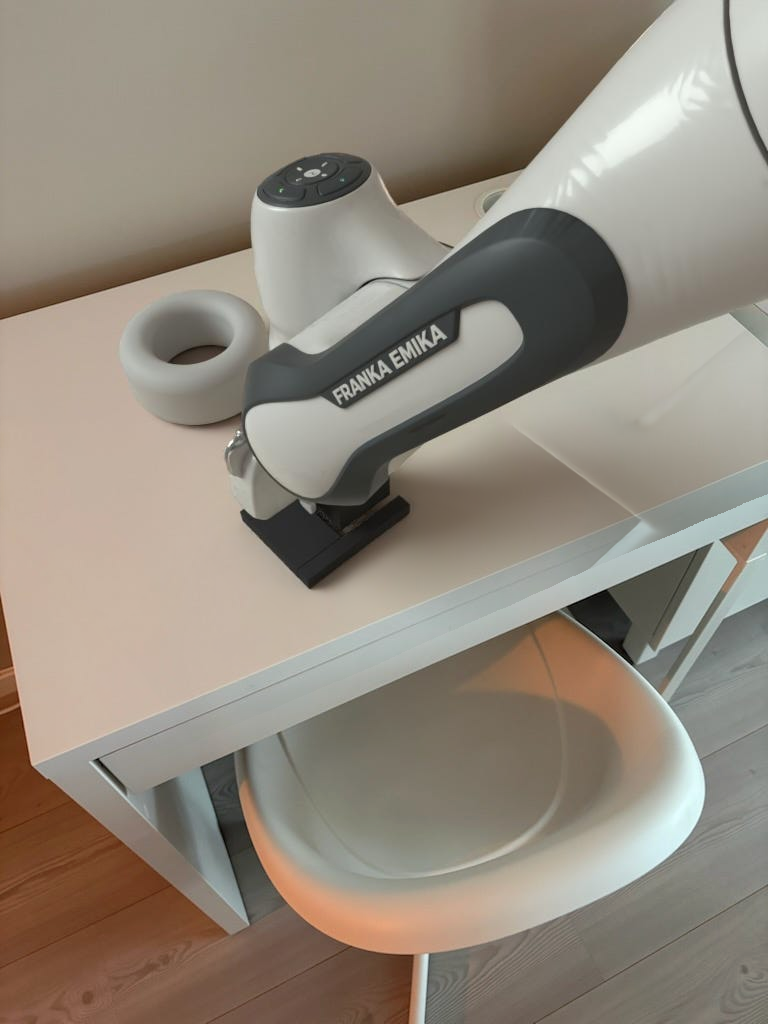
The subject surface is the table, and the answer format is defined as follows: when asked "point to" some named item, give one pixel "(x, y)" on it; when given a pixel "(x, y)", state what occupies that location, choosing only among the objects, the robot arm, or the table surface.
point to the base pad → (320, 537)
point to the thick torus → (182, 326)
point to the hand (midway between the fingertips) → (344, 483)
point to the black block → (354, 508)
